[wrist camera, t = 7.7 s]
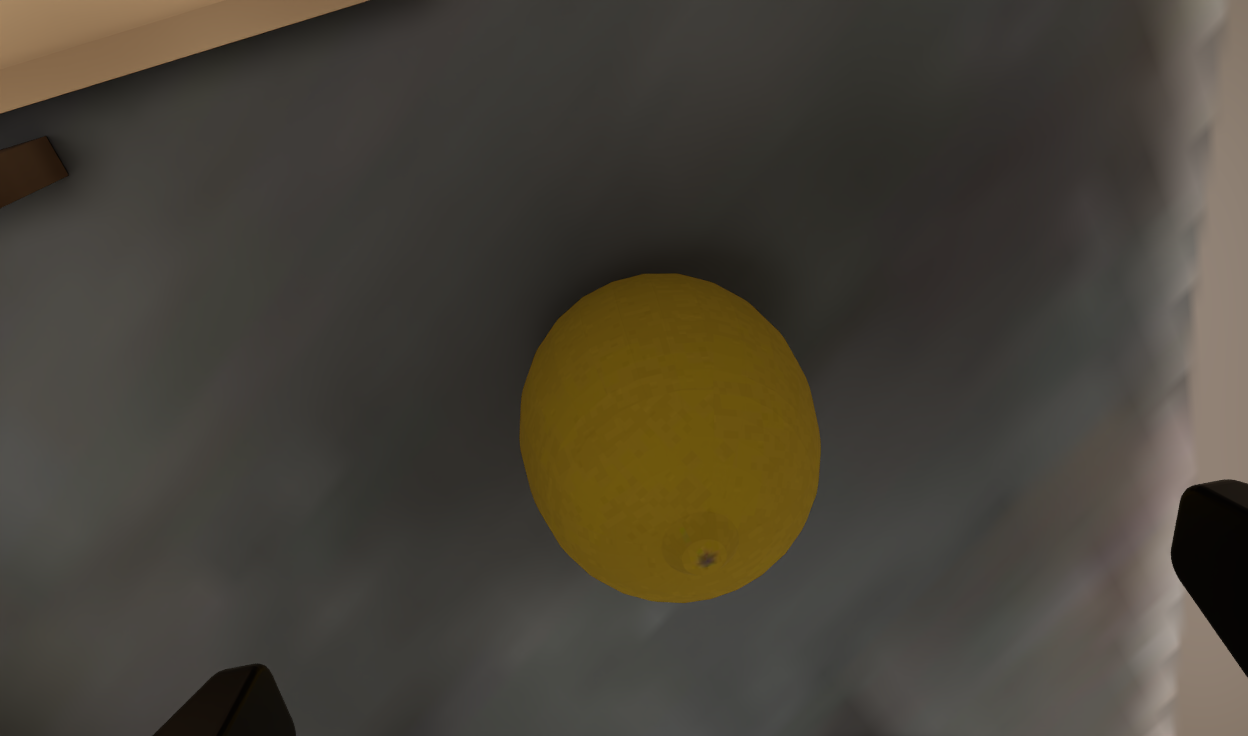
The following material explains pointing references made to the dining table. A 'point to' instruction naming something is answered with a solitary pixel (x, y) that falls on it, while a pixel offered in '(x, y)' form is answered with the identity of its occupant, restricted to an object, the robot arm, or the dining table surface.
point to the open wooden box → (28, 169)
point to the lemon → (669, 438)
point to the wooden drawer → (123, 37)
